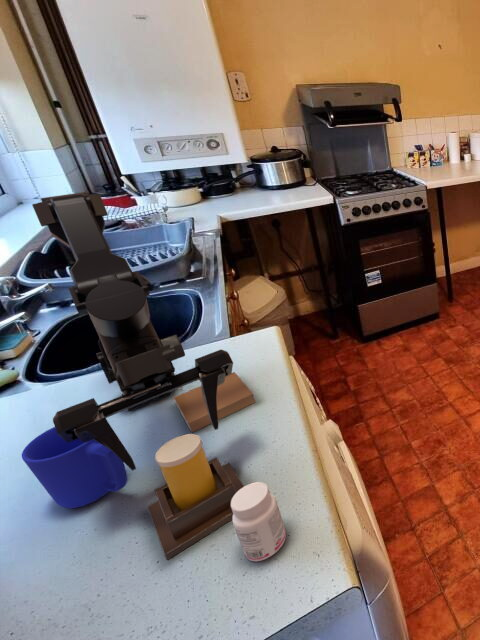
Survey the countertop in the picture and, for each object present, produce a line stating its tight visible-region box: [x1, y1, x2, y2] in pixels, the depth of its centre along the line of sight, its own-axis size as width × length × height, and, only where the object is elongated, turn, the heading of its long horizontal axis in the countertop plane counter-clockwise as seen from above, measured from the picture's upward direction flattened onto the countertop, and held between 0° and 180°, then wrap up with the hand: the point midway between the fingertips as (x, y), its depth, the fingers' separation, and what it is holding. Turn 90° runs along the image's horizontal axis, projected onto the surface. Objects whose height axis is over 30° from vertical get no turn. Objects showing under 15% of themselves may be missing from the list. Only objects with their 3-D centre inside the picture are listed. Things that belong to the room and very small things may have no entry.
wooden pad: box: [173, 371, 256, 433], centre depth 80 cm, size 10×10×2 cm
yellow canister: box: [154, 433, 218, 511], centre depth 58 cm, size 5×5×9 cm
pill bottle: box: [231, 481, 287, 562], centre depth 54 cm, size 5×5×8 cm
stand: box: [147, 456, 245, 561], centre depth 60 cm, size 10×10×4 cm
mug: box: [21, 426, 128, 509], centre depth 61 cm, size 8×12×10 cm
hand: (177, 448), depth 58 cm, fingers open, 9 cm apart
